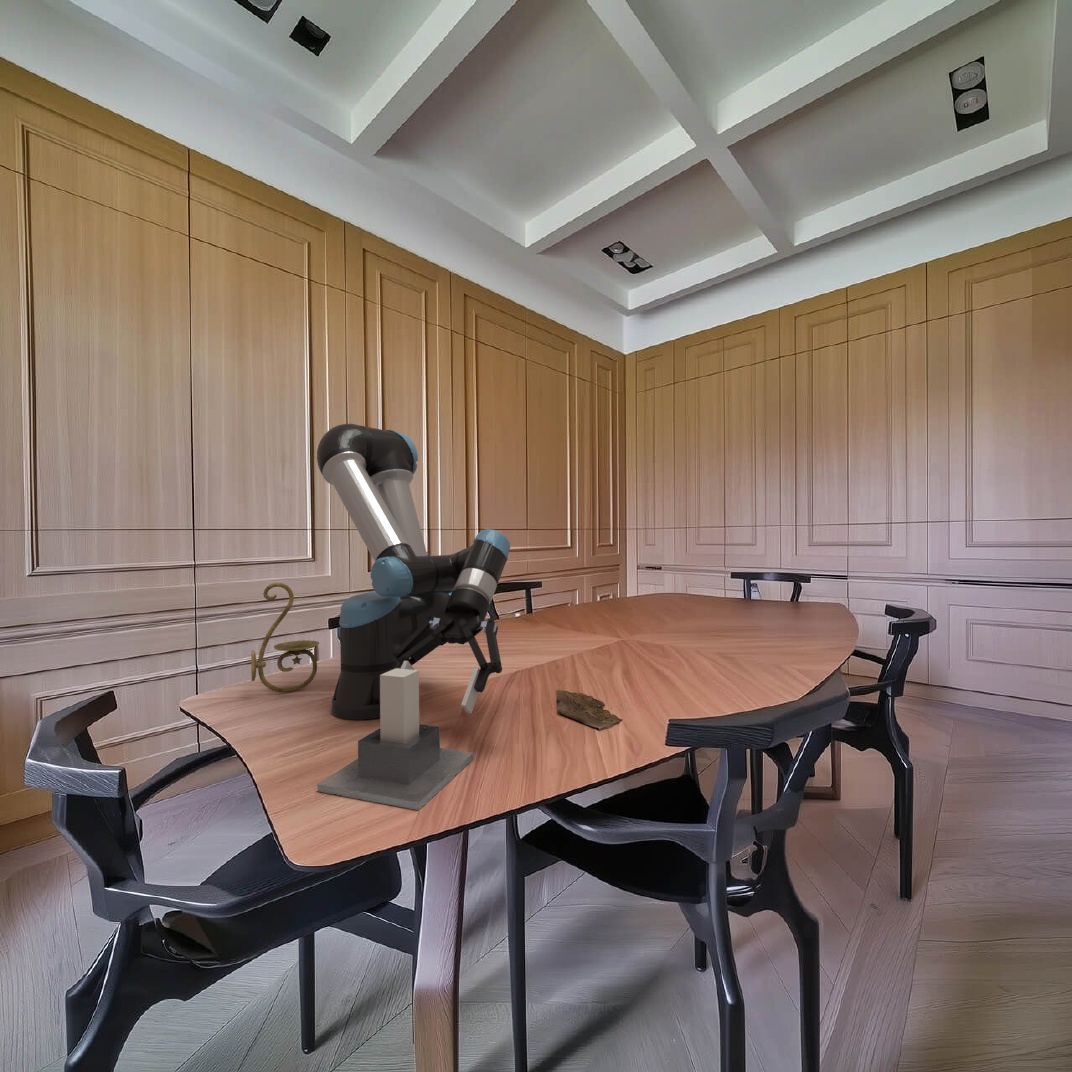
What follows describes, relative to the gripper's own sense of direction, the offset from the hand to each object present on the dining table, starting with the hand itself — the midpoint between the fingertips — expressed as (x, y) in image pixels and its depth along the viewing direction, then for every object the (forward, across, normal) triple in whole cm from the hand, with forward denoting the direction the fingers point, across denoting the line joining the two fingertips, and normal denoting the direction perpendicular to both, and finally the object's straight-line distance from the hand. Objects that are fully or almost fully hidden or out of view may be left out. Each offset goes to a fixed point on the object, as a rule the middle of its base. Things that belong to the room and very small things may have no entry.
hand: (428, 704), depth 84 cm
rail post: (+10, 0, +1) cm, 10 cm away
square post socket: (+11, 0, 0) cm, 11 cm away
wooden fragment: (-14, -17, -27) cm, 35 cm away
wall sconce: (-6, +49, -19) cm, 53 cm away
